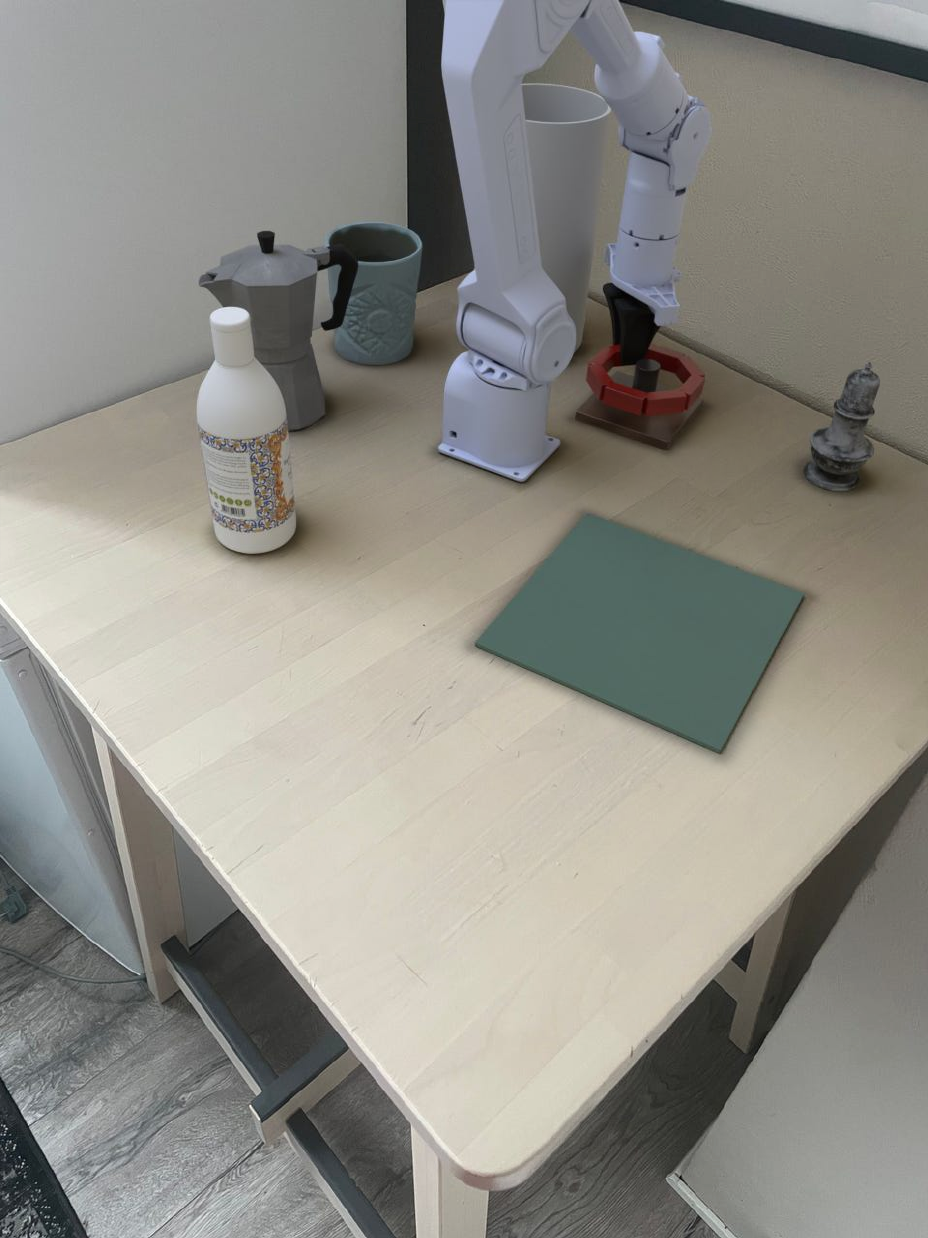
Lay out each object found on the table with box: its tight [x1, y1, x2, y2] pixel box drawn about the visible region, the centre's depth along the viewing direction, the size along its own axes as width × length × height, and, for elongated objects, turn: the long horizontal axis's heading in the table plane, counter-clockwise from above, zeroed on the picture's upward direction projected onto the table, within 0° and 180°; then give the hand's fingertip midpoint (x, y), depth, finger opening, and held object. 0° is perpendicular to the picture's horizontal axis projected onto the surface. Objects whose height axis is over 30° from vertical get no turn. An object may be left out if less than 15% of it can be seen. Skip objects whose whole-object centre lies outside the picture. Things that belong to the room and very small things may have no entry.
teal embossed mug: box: [323, 221, 423, 366], centre depth 109 cm, size 10×10×12 cm
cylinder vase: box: [473, 83, 612, 353], centre depth 108 cm, size 12×12×25 cm
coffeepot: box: [198, 230, 358, 432], centre depth 98 cm, size 15×9×18 cm, turn 120°
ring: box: [585, 343, 706, 416], centre depth 103 cm, size 11×11×2 cm
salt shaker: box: [802, 361, 881, 492], centre depth 95 cm, size 6×6×12 cm
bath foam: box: [196, 307, 297, 555], centre depth 82 cm, size 7×7×20 cm
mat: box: [474, 512, 805, 754], centre depth 82 cm, size 20×20×1 cm
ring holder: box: [574, 359, 705, 451], centre depth 104 cm, size 10×10×6 cm
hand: (627, 358), depth 107 cm, fingers closed on ring, 1 cm apart
